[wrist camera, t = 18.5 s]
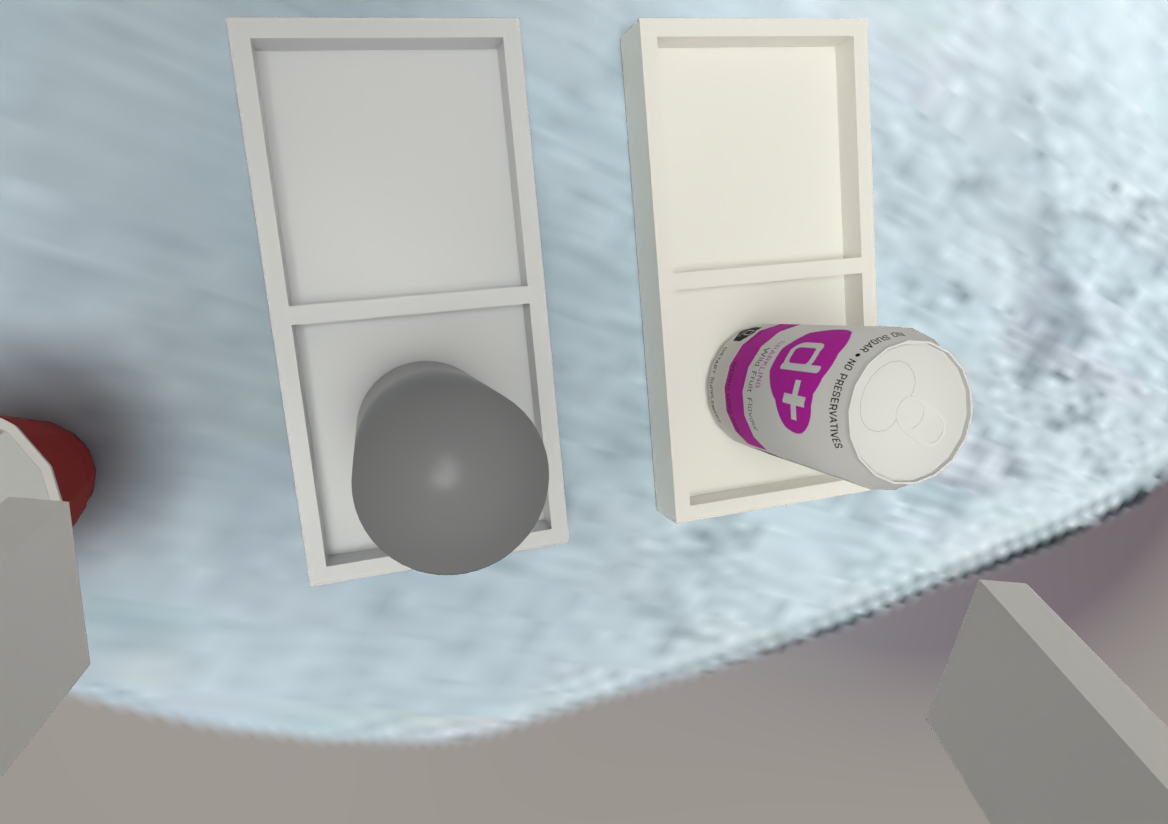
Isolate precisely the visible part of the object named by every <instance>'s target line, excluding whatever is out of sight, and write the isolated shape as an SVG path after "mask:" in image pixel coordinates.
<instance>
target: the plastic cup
mask: <svg viewBox="0 0 1168 824" xmlns="http://www.w3.org/2000/svg"><path fill="white" fill-rule="evenodd" d="M95 472H96V471H95V467H94V464H93V461H92V458H91V455H90V452H89V450H88V449H87V448H86V446H85V445H84V444H83V443H82V442H81V441H80V440H79V439H78V438H77V436H76V435H75V434H73V433H71V432H69V431H67V430H65V429H63V428H61V427H59V426H57V425H55V424H53V423H51V422H44V421H36V420H30V419H22V418H14V417H6V416H0V503H1V502H3V501H4V500H5V499H6V498H8V497H19V498H30V499H42V500H54V501H66V502H69V506H70V514H71V521H72V528H73V526H74V525H75V523H76V521H77V520H78V518H79V517H80V515H81V514H82V512H83V510H84V509H85V507H86V503H87V501H88V499H89V498H90V496H91V495H92V493H93V487H94V480H95Z"/></svg>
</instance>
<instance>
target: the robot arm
mask: <svg viewBox="0 0 1168 824" xmlns="http://www.w3.org/2000/svg"><path fill="white" fill-rule="evenodd" d="M89 665H90V658H89V650H88V643H87V635H86V627H85V620H84V612H83V605H82V597H81V590H80V582H79V574H78V567H77V559H76V552H75V544H74V536H73V529H72V521H71V514H70V506H69V502H66V501H54V500H42V499H30V498H19V497H8V498H6V499H5V500H4V501H3V502H1V503H0V779H1V778H2V776H3V775H4V774H5V773H6V771H7V770H8V769H9V768H10V766H11V765H12V764H13V762H14V761H15V760H16V758H17V757H18V756H19V754H20V753H21V752H22V751H23V749H24V748H25V747H26V746H27V744H28V743H29V742H30V741H31V739H32V738H33V737H34V736H35V734H36V733H37V732H38V730H39V729H40V728H41V726H42V725H43V724H44V723H45V721H46V720H47V719H48V717H49V716H50V715H51V714H52V712H53V711H54V710H55V709H56V707H57V706H58V705H59V703H60V702H61V701H62V700H63V698H64V697H65V696H66V695H67V693H68V692H69V691H70V689H71V688H72V687H73V686H74V684H75V683H76V682H77V681H78V679H79V678H80V677H81V675H82V674H83V673H84V672H85V670H86V669H87V668H88V666H89ZM926 720H927V722H928V724H929V725H930V727H931V729H932V730H933V732H934V733H935V735H936V737H937V738H938V740H939V741H940V743H941V745H942V746H943V748H944V750H945V751H946V753H947V755H948V756H949V758H950V760H951V761H952V763H953V764H954V766H955V768H956V769H957V771H958V773H959V774H960V776H961V777H962V779H963V781H964V782H965V784H966V785H967V787H968V789H969V790H970V792H971V794H972V795H973V797H974V799H975V800H976V802H977V804H978V805H979V807H980V808H981V810H982V812H983V813H984V815H985V817H986V818H987V820H988V822H989V823H990V824H1168V727H1167V726H1166V725H1165V724H1164V723H1163V722H1162V721H1161V720H1160V719H1159V718H1158V717H1157V716H1156V715H1155V714H1154V713H1153V712H1152V711H1151V710H1150V709H1149V708H1148V707H1147V706H1146V705H1145V704H1144V703H1143V702H1142V701H1141V700H1140V699H1139V697H1138V696H1136V694H1134V693H1133V691H1132V690H1131V689H1130V688H1129V687H1128V686H1127V685H1126V684H1125V683H1124V682H1123V681H1122V680H1120V678H1119V677H1118V676H1117V675H1116V674H1115V673H1114V672H1113V671H1112V670H1111V669H1110V668H1109V667H1108V666H1107V665H1106V664H1105V663H1104V662H1103V661H1102V660H1101V659H1100V658H1099V657H1098V656H1097V655H1096V654H1095V653H1094V652H1093V651H1092V650H1091V649H1090V648H1089V647H1088V646H1087V645H1086V644H1085V643H1084V642H1083V641H1082V640H1081V639H1080V638H1079V637H1078V636H1077V635H1076V634H1075V633H1074V631H1073V630H1072V629H1071V628H1069V626H1068V625H1067V624H1066V623H1065V622H1064V621H1063V620H1062V619H1061V618H1060V617H1059V616H1058V615H1057V614H1056V613H1055V612H1054V611H1053V610H1052V609H1051V608H1050V607H1049V606H1048V605H1047V604H1046V603H1045V602H1044V601H1043V600H1042V599H1041V598H1040V597H1039V596H1038V595H1037V594H1036V593H1035V592H1034V591H1033V590H1032V589H1031V588H1030V587H1029V586H1028V585H1027V584H1025V583H1012V582H1000V581H990V580H979V582H978V585H977V587H976V590H975V592H974V595H973V598H972V601H971V603H970V606H969V608H968V611H967V613H966V616H965V619H964V621H963V624H962V626H961V629H960V632H959V634H958V637H957V639H956V642H955V645H954V647H953V650H952V652H951V655H950V658H949V660H948V663H947V666H946V668H945V671H944V674H943V676H942V679H941V681H940V684H939V686H938V689H937V692H936V694H935V697H934V699H933V702H932V705H931V708H930V710H929V713H928V715H927V718H926Z"/></svg>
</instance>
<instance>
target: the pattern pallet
mask: <svg viewBox="0 0 1168 824" xmlns="http://www.w3.org/2000/svg"><path fill="white" fill-rule="evenodd" d="M226 24H227V30H228V37H229V44H230V51H231V57H232V64H233V71H234V77H235V84H236V91H237V98H238V104H239V111H240V118H241V125H242V131H243V138H244V145H245V152H246V158H247V165H248V172H249V178H250V185H251V192H252V199H253V205H254V212H255V219H256V226H257V232H258V239H259V246H260V252H261V259H262V266H263V273H264V279H265V286H266V293H267V300H268V306H269V313H270V320H271V326H272V333H273V340H274V347H275V353H276V360H277V367H278V374H279V380H280V387H281V394H282V401H283V407H284V414H285V421H286V427H287V434H288V441H289V448H290V454H291V461H292V468H293V475H294V481H295V488H296V495H297V501H298V508H299V515H300V522H301V528H302V535H303V542H304V549H305V555H306V562H307V569H308V575H309V582H310V587H313V586H319V585H325V584H331V583H336V582H342V581H348V580H354V579H360V578H365V577H371V576H377V575H383V574H389V573H394V572H400V571H406V570H412V569H414V570H417V571H421V572H424V573H429V574H436V575H457V574H465V573H469V572H473V571H477V570H480V569H483V568H485V567H488V566H490V565H492V564H494V563H496V562H498V561H500V560H501V559H503V558H504V557H506V556H507V555H508V554H510V553H511V552H516V551H522V550H527V549H533V548H539V547H545V546H551V545H556V544H562V543H568V542H569V533H568V523H567V512H566V502H565V491H564V481H563V471H562V460H561V450H560V439H559V429H558V418H557V408H556V397H555V387H554V376H553V366H552V355H551V345H550V334H549V324H548V314H547V303H546V293H545V282H544V272H543V261H542V251H541V240H540V230H539V219H538V209H537V198H536V188H535V178H534V167H533V157H532V146H531V136H530V125H529V115H528V104H527V94H526V83H525V73H524V62H523V52H522V41H521V31H520V21H519V18H305V17H226Z"/></svg>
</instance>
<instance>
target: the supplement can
mask: <svg viewBox="0 0 1168 824" xmlns="http://www.w3.org/2000/svg"><path fill="white" fill-rule="evenodd" d="M708 388H709V400H710V407H711V409H712V412H713V414H714V416H715V418H716V421H717V423H718V425H719V426H720V427H721V428H722V429H723V430H724V431H725V432H726V433H727V434H728V435H729V436H730V437H731V438H732V439H733V440H734V441H736V442H739V443H741V444H743V445H746V446H748V447H750V448H753V449H756V450H759V451H762V452H765V453H767V454H770V455H773V456H776V457H779V458H782V459H785V460H788V461H790V462H793V463H796V464H799V465H802V466H805V467H808V468H810V469H813V470H816V471H819V472H822V473H825V474H828V475H830V476H833V477H836V478H839V479H842V480H845V481H848V482H851V483H853V484H856V485H859V486H862V487H865V488H868V489H871V490H896V489H898V488H901V487H903V486H906V485H908V484H916V483H919V482H921V481H924V480H926V479H929V478H931V477H934V476H936V475H937V474H938V473H939V472H941V471H942V470H943V469H944V468H945V467H946V466H947V465H949V464H950V463H951V462H952V461H953V460H954V459H955V457H956V455H957V454H958V452H959V450H960V449H961V447H962V445H963V444H964V442H965V440H966V438H967V434H968V430H969V427H970V423H971V419H972V390H971V387H970V385H969V382H968V379H967V376H966V373H965V371H964V368H963V367H962V366H961V365H960V364H959V362H958V361H957V360H956V359H955V358H954V356H953V355H952V354H951V353H950V352H949V351H947V350H945V349H944V348H942V347H940V345H939V344H938V343H937V342H936V341H935V340H934V339H932V338H930V337H928V336H926V335H924V334H922V333H920V332H919V331H917V330H915V329H913V328H901V327H884V326H843V325H801V324H759V325H756V326H753V327H750V328H746V329H743V330H741V331H740V332H739V333H738V334H736V335H735V336H734V337H733V338H731V339H730V340H729V341H728V342H726V343H725V345H724V346H723V348H722V349H721V351H720V353H719V354H718V356H717V358H716V359H715V361H714V362H713V366H712V371H711V375H710V379H709V383H708Z"/></svg>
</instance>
